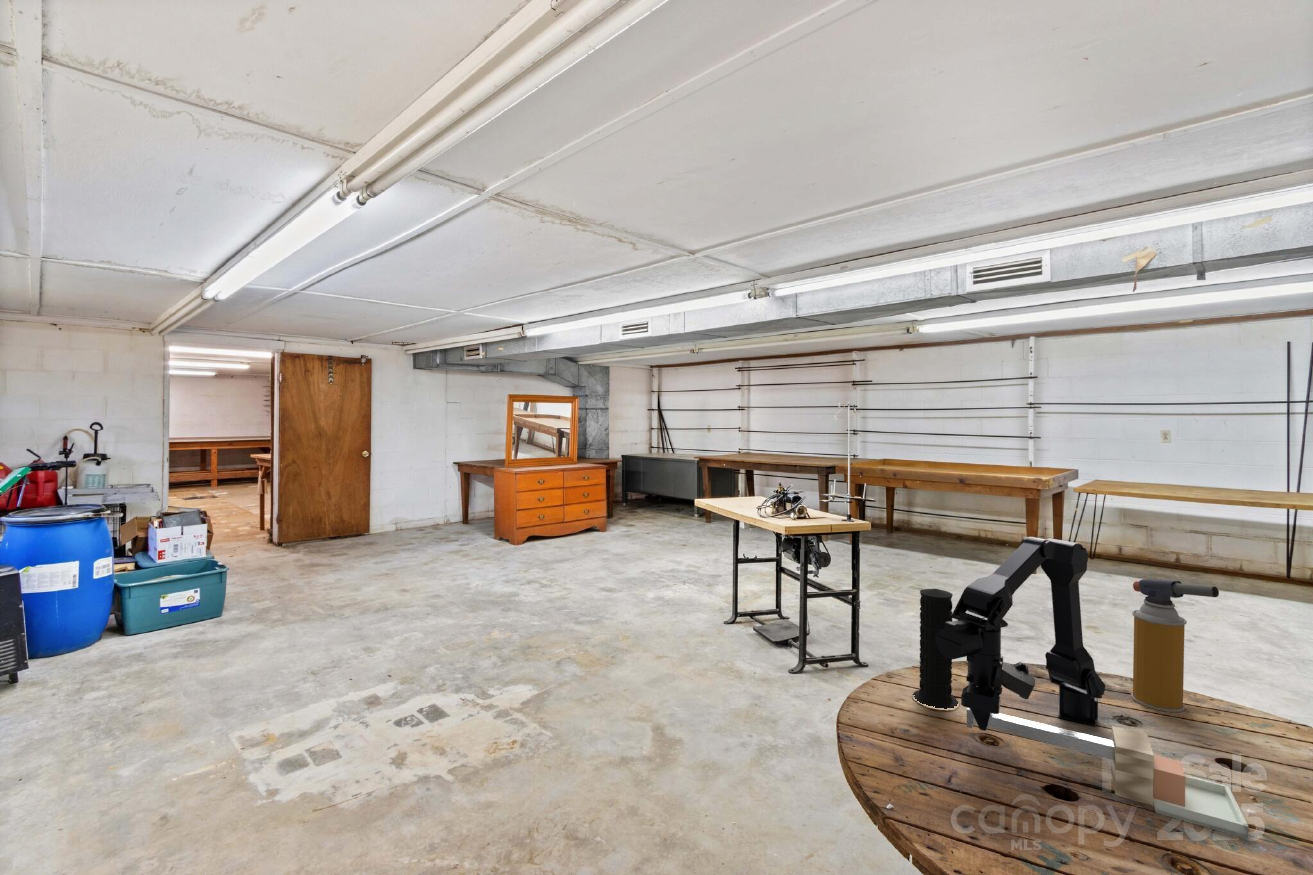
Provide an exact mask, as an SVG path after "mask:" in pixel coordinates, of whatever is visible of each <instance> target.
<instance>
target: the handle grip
mask: <svg viewBox="0 0 1313 875" xmlns="http://www.w3.org/2000/svg"><path fill="white" fill-rule="evenodd" d="M919 594H920V598H919V604H920V608H919V611H920V612H919V619H920V621H919V624H920V626H919V632H920V634H919V638H920V639H919V646H920V647H919V651H920V652H919V678H920V679H919V689H917V690H915V691H914V692H913V693H912V695H915V696H914V697H915V699H917V701H919V702H920V703H922V704H926V705H928V706H933V707H934V706H935V708H944V709H947V708H954V706H957V704H958V702H959V701H957V700H958V699H957V698H956V697H954V696H953V694H952V692H953V687H952V683H953V680H952V678H953V672H952V669H953V666H952V664H953V659H948V658H946V657H944V656H943V655H942V654H941V653H940V651H939V650H938V648H937V645H936V641H935V637H936V635H937V633H938V631H939V630H940V629H943V628H945V622H948V621H951V622H953V618H952V617H951V615H952V613H953V611H952V610H953V602H952V598H953V593H951V592H950V591H947V590H944V589H940V588H939V589H938V588H923V589H920V591H919ZM956 699H957V700H956Z"/></svg>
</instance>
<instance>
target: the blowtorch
mask: <svg viewBox="0 0 1313 875" xmlns="http://www.w3.org/2000/svg"><path fill="white" fill-rule="evenodd" d="M1132 589H1133V590H1134V591H1135V592H1137V593H1138V592H1140V593H1141V594H1142V595H1144V596H1145V597H1144V599H1143V604H1141V606H1140V608H1139V609H1135V610H1132V616H1133V658H1132V660H1133V662H1132V663H1133V666H1132V667H1133V668H1132V675H1133V677H1132V692H1131V694H1130V697H1131V698H1132V700H1133V701H1134V702H1136V703H1137V704H1140V705H1142V706H1144V707H1147V708H1149V709H1152V710H1156V711H1161V712H1167V713H1181V712H1184V711H1185V710H1186V707H1185V705H1184V677H1185V676H1184V675H1185V674H1184V672H1185V671H1184V669H1185V667H1184V666H1185V663H1184V662H1185V625H1187V624H1188V623H1187V622H1188V620H1186V618H1184V617H1183V616H1180V615H1179V612H1178V611H1177V610H1176V608H1175V607H1176V605H1175V603H1174V602H1173V601H1172V600H1171V598H1173V599H1178V598H1183V597H1184V595H1187V596H1188V595H1189V596H1198V597H1208V598H1218V597H1219V596H1220V595H1219V594H1220V590H1219V588H1218V587H1216V586H1213V585H1200V584H1190V583H1187V584H1186V583H1182V581H1180V580H1172V579H1156V578H1142V579H1140V580H1138V581H1133V583H1132Z"/></svg>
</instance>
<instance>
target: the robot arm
mask: <svg viewBox="0 0 1313 875" xmlns="http://www.w3.org/2000/svg"><path fill="white" fill-rule="evenodd" d="M1088 561H1089V554H1088V552H1087V548H1086V547H1084V546H1083V544H1081V543H1078V542H1073V541H1067V540H1062V539H1057V538H1050V537H1049V538H1046V539H1045V538H1039V537H1034V536H1026V537H1024V538H1022V540H1021V543H1020V545H1019V547H1017V549H1016V550H1014V551H1013V552H1012V553H1011V555H1010V556H1008V557H1007V558H1006V560H1004V561H1003V563H1002V564H1000V565H999V567H997V569H996V570H995V571H994V572H992V573H991V574H989V575H987V576H984V577H980V578H978V579H975V580H974V581H972V583H971V582H970V584H968V585H967V586H966V587H965V588H964V590H963V592H962V593H961V595H960V597H959V599H958V601H957V604H956V605H955V608H954V610H953V611H952V612H953V613H952V615H951V617H952V619H953V620H952V622H951V621H948V622H945V628H943V629H940V630H939V631H938V633H937V635H936V637H935V641H936V645H937V648H938V650H939V651H940V653H941V654H942V655H943V656H944V657H946V658H948V659H952V660H957V659H961V658H965V657H966V662H967V673H966V680H965V681H966V682H968V683H967V685H966V686H965V687H963V689H962V692H961V695H960V697H961V698H960V705H961V706H962V707H964V708H966V709H967V708H970V709H971V711H972V713H973V715H974V718H975V720H976V722H977V724H978V725H977V726H978V728H979V730H980V731H984V732H987V729H988V728H987V725H988V721H989V717H990V713H992V714H999V713H1000V709H1001V708H1000V707H1001V696H1000V695H1002V693H1003V689H1004V688H1005V689H1006V690H1009V691H1010V692H1013V693H1014V694H1016V695H1019V697H1020V698H1022V699H1024V700H1029V698H1030V696H1031V694H1032V692H1033V690H1034V689H1035V686H1036V679H1035V677H1034V675H1033V674H1030V673H1029V672H1030V671H1029V666H1028V665H1027V664H1026V663H1024V662H1022V661H1018V662H1017V663H1015V664H1011V663H1010V664H1007V663H1005V662H1004V656H1002V651H1001V650H1002V649H1001V648H1002V628H1006V627H1008V626H1009V623H1008V622H1007V620H1005V619H1003V618H1004V617H1005V616H1006V615H1007V613H1008V612H1009V610H1010V609H1011V608H1012V606H1013V603H1014V601H1013V596H1014V593H1015V592H1016V591H1017V590H1018V589H1019V588H1020V587H1021V586H1022V585H1023V584H1024V583H1025V582H1026V581H1027V580H1028V579H1029V578H1030V577H1031V575H1033V574H1034V572H1035V571H1036V570H1037V569H1038V568H1039V567H1040V568H1041V569H1042V571H1043V573H1044V574H1045V575H1046V576H1047V577H1048V580H1050V586H1051V587H1050V590H1051V600H1052V601H1051V604H1052V614H1053V628H1054V642H1055V643H1054V645H1053V646H1052V648H1050V650H1049V651H1047V652H1045V654H1044V655H1045V660H1046V661H1045V662H1046V665H1045V669H1046V670H1047V673H1048V677H1049V681H1050V683H1051V684H1053V685H1054V684H1055V685H1057V686H1058V704H1057V712H1058V718H1059V719H1063V720H1067V721H1072V722H1075V723H1081V724H1085V725H1088V726H1092V727H1093V726H1094V727H1096V721H1098V720H1099V702H1098V700H1099V699H1102V696H1104V695H1105V691H1106V683H1105V682H1104V681H1103V680H1102V678H1101V677H1100V676H1099V674H1098V673H1097V672H1096V668H1095V663H1094V659H1093V657H1092V656H1091V654H1090V653H1089V652H1088V650H1087V648H1086V647H1085V646H1084V639H1083V629H1082V628H1083V627H1082V612H1081V611H1082V610H1081V601H1080V600H1081V596H1080V584H1079V583H1080V580H1081V579H1082V577H1083V576H1084V575H1085V573H1086V572H1087V570H1088ZM970 613H971V614H970ZM973 614H974V615H973ZM979 616H980V617H979Z"/></svg>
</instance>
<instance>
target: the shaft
mask: <svg viewBox="0 0 1313 875" xmlns="http://www.w3.org/2000/svg"><path fill="white" fill-rule="evenodd" d="M974 725H976V726H978V724H977V722H976V720H975V718H974V715H973V713H972V711H971V709H970V708H967V707H966V728H968V729H973V726H974ZM987 729H990V730H994V731H998V732H1001V733H1005V734H1006V733H1007V734H1011V735H1015V736H1017V737H1021V738H1026V739H1030V740H1033V741H1038V742H1042V743H1044V744H1045V743H1046V744H1049V745H1053V746H1057V747H1060V748H1065V749H1069V750H1073V751H1078V752H1081V753H1085V754H1088V755H1093V756H1097V757H1100V758H1104V759H1109V760H1110V761H1111V760H1115V745H1114V741H1112V739H1107V738H1104V737H1099V736H1096V735H1095V736H1094V735H1091V734H1087V733H1082V732H1078V731H1074V730H1070V729H1066V728H1061V727H1057V726H1053V725H1049V724H1046V723H1041V722H1037V721H1032V720H1028V719H1024V718H1020V717H1017V716H1011V715H1007V714H1004V713H1000V712H999V714H992V713H990V717H989V721H988V725H987Z"/></svg>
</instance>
